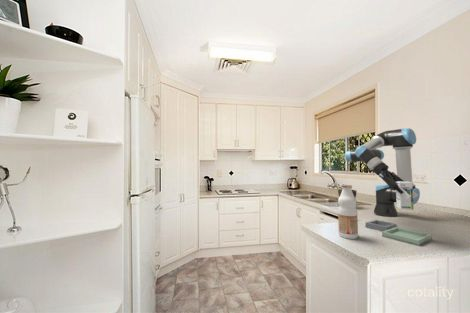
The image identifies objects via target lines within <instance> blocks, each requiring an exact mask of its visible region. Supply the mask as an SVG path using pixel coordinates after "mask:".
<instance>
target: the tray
mask: <svg viewBox="0 0 470 313" xmlns="http://www.w3.org/2000/svg"><path fill="white" fill-rule="evenodd" d="M381 237H383V238H388V239H390V240H394V241H397V242H402V243H406V244H409V245H414V246H421V245H424V244H425V243H427V242H430V241H432V240H433V239H432V238H433V237H432V234H430V233H425V232H420V231H415V230H410V229H406V228H402V227H398V226H397V227H395V228H392V229H389V230H386V231H381Z"/></svg>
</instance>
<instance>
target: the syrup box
mask: <svg viewBox="0 0 470 313" xmlns="http://www.w3.org/2000/svg"><path fill="white" fill-rule="evenodd" d="M412 183H413V181H412V182H405V181H396V184H397V185H398V186H399V187H401V188H402V189H403V190H405V191H406V192H407V193H408V194H409V195H410V196H411V197H410V198H409V199H407V200H406V199H405V198H404V197H403V196H402V195H400V194H399V193H398V192H397V191H396V200H397V202H396V209H397V208H398V209H399V210H405V211H406V210H409V211H414V204H413V187H412Z"/></svg>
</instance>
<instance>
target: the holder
mask: <svg viewBox="0 0 470 313" xmlns="http://www.w3.org/2000/svg"><path fill="white" fill-rule="evenodd" d="M366 227H367V229H370V230H375V231H379V232H383V231H386V230H389V229H392V228H395V227H397V228H398V223H393V222H390V221H389V222H388V221H384V220H378V219H374V220H370V221H366V222H365V228H366Z"/></svg>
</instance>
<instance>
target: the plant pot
mask: <svg viewBox="0 0 470 313" xmlns="http://www.w3.org/2000/svg"><path fill="white" fill-rule="evenodd" d="M342 189H343V188H340V189H338V190H337V193H338V194H337V195H338V198H339V197H340V195H341V192H342ZM351 190H352V192H353V195H354V197H355V199H357V198H356V197H357V190H356V189H351Z"/></svg>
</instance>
